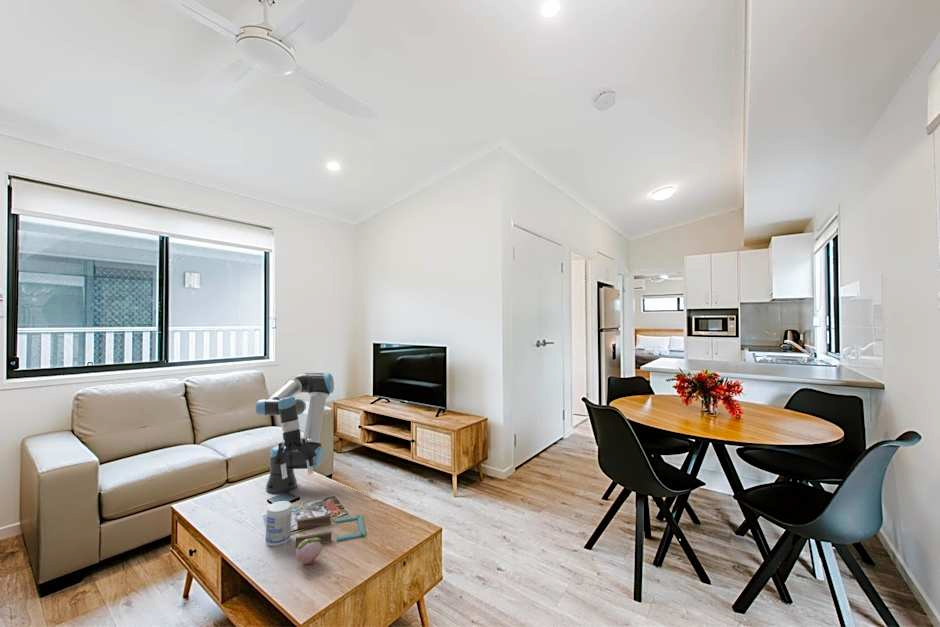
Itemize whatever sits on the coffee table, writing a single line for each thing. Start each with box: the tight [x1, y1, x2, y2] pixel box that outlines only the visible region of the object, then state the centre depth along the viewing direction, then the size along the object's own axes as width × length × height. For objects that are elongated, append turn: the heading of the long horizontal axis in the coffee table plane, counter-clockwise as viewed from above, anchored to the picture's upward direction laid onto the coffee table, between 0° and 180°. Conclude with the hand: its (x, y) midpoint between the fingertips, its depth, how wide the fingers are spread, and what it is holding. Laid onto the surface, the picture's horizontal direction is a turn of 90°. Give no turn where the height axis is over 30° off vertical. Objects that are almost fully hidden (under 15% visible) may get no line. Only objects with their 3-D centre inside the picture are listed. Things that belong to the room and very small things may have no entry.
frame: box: [334, 514, 366, 542], centre depth 176 cm, size 17×12×1 cm
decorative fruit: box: [295, 537, 322, 565], centre depth 151 cm, size 9×8×10 cm
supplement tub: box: [265, 500, 293, 547], centre depth 165 cm, size 10×10×15 cm
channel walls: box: [294, 514, 333, 549], centre depth 171 cm, size 16×14×4 cm
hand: (297, 476), depth 182 cm, fingers open, 13 cm apart
